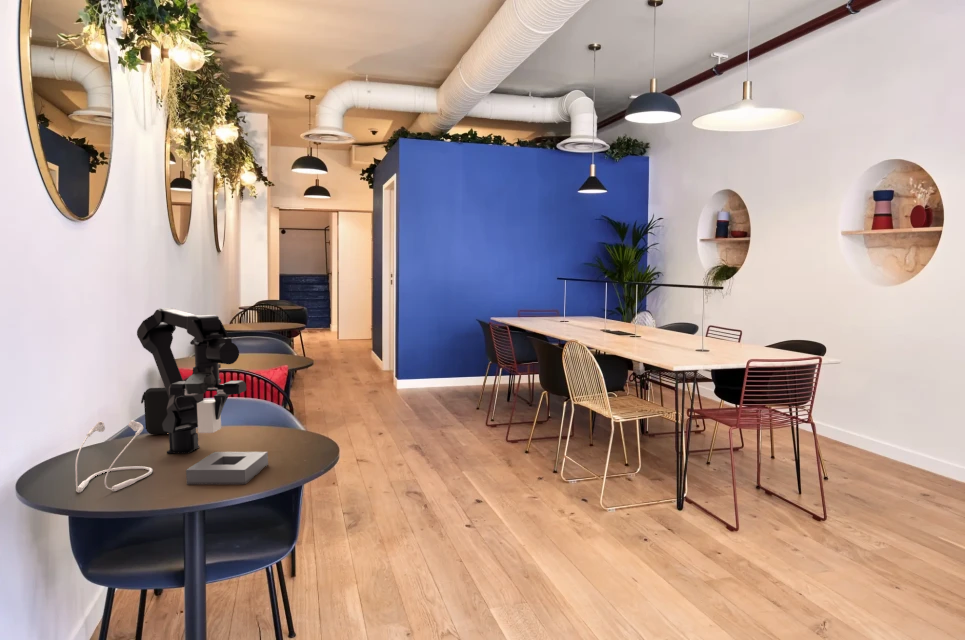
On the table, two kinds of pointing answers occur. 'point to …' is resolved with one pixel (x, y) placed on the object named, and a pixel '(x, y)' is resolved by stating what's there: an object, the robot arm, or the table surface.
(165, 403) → the carrying case or bag
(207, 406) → the plug
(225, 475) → the socket block
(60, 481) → the table surface
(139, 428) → the earphone
